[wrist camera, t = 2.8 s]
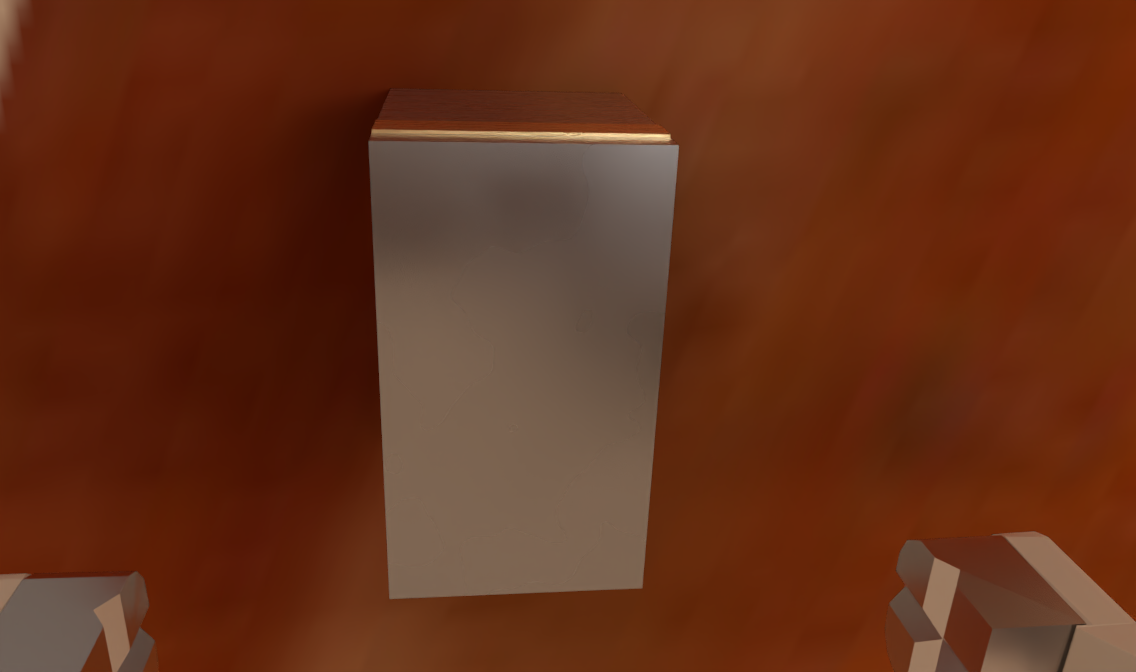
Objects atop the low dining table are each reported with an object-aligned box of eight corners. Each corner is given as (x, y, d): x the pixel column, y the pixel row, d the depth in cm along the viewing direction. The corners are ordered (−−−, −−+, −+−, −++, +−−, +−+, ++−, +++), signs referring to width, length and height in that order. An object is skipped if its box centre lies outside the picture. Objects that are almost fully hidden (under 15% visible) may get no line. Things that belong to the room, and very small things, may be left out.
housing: (620, 89, 19) (679, 141, 14) (600, 447, 22) (642, 590, 17) (390, 85, 18) (368, 137, 13) (403, 451, 21) (389, 601, 16)
